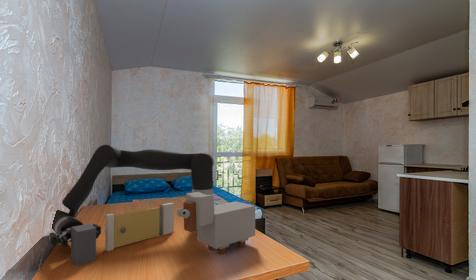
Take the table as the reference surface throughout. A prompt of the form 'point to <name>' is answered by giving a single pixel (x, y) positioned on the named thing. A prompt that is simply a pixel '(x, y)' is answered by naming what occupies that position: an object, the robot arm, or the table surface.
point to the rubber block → (83, 244)
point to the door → (136, 226)
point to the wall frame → (164, 224)
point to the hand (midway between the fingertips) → (82, 239)
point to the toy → (218, 221)
